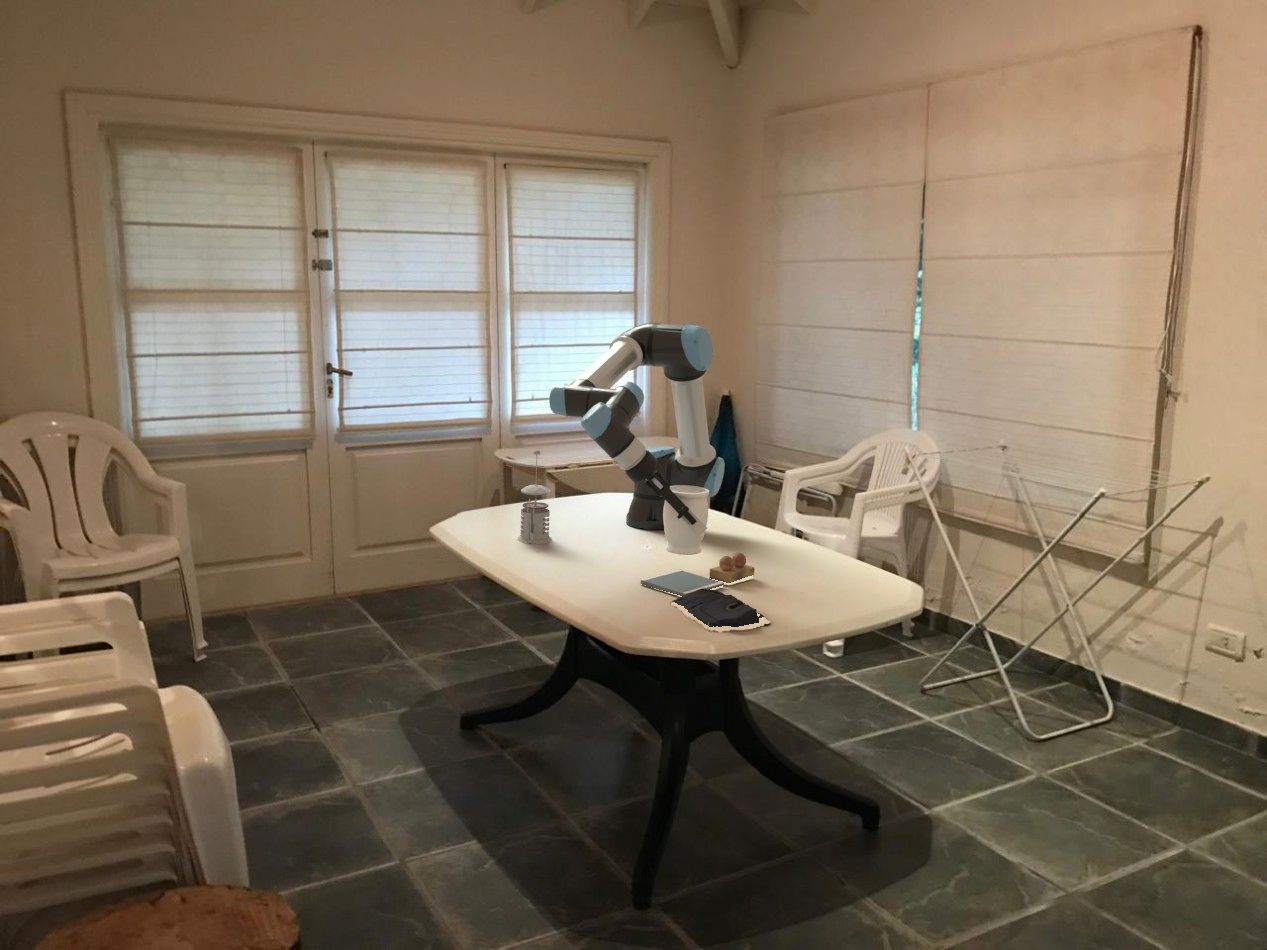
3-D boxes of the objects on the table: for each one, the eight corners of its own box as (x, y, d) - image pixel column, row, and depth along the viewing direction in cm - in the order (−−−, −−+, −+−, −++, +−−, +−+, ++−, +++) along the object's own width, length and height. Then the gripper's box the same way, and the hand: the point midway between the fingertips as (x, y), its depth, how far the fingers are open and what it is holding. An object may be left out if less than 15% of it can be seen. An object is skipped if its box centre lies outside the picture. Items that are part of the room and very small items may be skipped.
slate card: (679, 574, 253) (679, 569, 253) (723, 587, 243) (723, 582, 243) (640, 584, 243) (641, 579, 243) (685, 599, 233) (685, 593, 233)
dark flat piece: (723, 598, 237) (725, 578, 236) (775, 629, 218) (777, 607, 217) (665, 604, 231) (666, 584, 230) (713, 636, 211) (714, 614, 210)
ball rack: (734, 573, 256) (736, 548, 255) (753, 578, 252) (755, 553, 251) (709, 580, 249) (710, 555, 248) (728, 586, 245) (730, 560, 244)
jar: (653, 551, 239) (657, 489, 236) (672, 543, 248) (676, 482, 245) (694, 559, 234) (698, 495, 231) (712, 550, 243) (716, 488, 241)
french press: (555, 536, 285) (558, 447, 280) (547, 546, 273) (550, 455, 269) (520, 533, 286) (522, 445, 281) (511, 544, 274) (513, 452, 269)
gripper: (615, 462, 246) (675, 525, 252) (632, 481, 224) (697, 549, 230) (637, 441, 246) (697, 504, 252) (656, 457, 224) (721, 527, 230)
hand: (697, 526), depth 241 cm, fingers closed on jar, 10 cm apart
